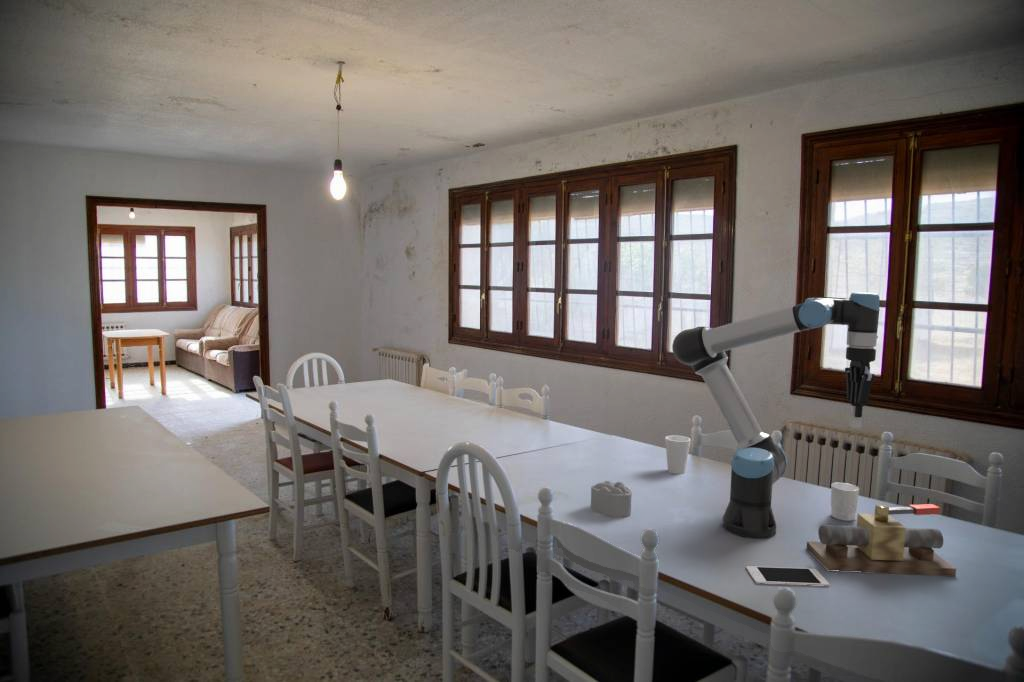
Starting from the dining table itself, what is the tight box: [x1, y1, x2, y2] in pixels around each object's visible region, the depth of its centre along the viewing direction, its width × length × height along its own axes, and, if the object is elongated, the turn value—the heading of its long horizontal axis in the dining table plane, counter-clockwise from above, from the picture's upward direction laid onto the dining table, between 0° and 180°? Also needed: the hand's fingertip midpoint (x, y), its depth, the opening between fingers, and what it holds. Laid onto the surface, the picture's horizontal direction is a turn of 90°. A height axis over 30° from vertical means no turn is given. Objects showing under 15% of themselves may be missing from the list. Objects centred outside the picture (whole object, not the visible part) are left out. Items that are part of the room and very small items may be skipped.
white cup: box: [830, 481, 860, 522], centre depth 206 cm, size 8×8×10 cm
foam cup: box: [664, 434, 692, 475], centre depth 249 cm, size 10×9×13 cm
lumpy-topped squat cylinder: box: [590, 480, 632, 519], centre depth 208 cm, size 10×13×9 cm
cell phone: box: [745, 565, 830, 587], centre depth 165 cm, size 9×18×1 cm, turn 87°
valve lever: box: [874, 503, 941, 522], centre depth 174 cm, size 3×18×3 cm, turn 98°
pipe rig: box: [806, 513, 957, 577], centre depth 174 cm, size 32×14×12 cm, turn 87°
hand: (855, 427), depth 189 cm, fingers closed
